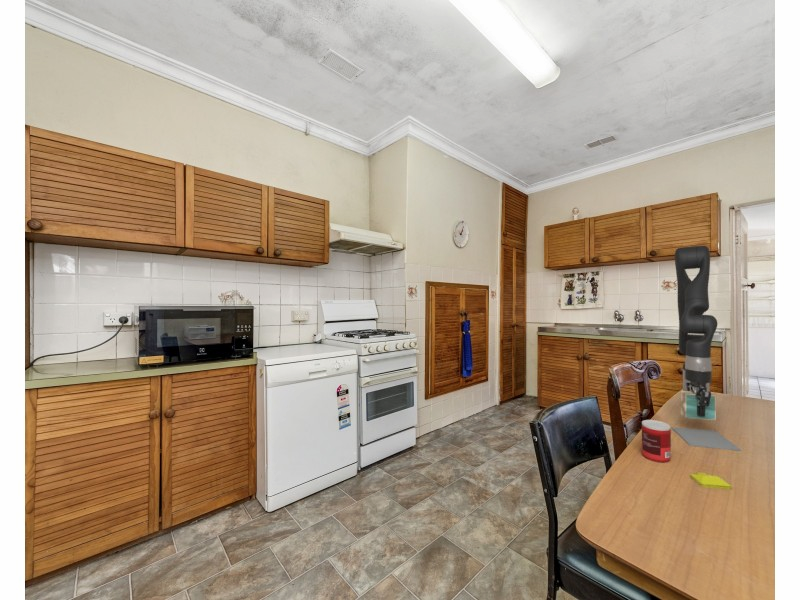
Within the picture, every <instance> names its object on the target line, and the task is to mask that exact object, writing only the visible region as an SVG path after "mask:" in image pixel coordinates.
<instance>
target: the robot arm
mask: <svg viewBox="0 0 800 600" xmlns="http://www.w3.org/2000/svg"><path fill="white" fill-rule="evenodd" d="M674 263H675V273H676V284H677V286H676V287H677V314H678V350H679V352H680V354H682V355H685V359H684V360H685V361H684V363H682V391H690V392H693V393H694V394H695V399H696V400H697V415H698V416H703V417H704V416H705V407H706V406H709V403H710V398H711V394H712V391H710V389H711V388H710V386H711V385H710V383H712V382H713V381H712V374H713V373H712V372H713V370H712V368H713V367H712V365H713V363H712V358H711V357H712V356H711V354H712V353H711V351H712V348H711V347H712V342H713V338H714V337H715V334H716V333H715V332H716V330H717V328H718V320H717V319H716V317H715V316H714V315H712V314H705V313H706V312H707V311H708V310H709V309H710V302H709V301H710V299H709V283H710V282H709V281H710V272H711V253H710V249H709V247H708V246H707V245H693V246H692V245H691V246H684V247H683V246H682V247H678V248H676V249H675V251H674ZM693 269H694V270H695V269H696V270H697V269H699V270H698V272H697V274H696V276H695V277H694V278H693V279H692V280H691V277H689V275H688V273H687V271H686V270H693ZM697 395H698V396H700V397H698V396H697ZM699 400H700V401H699Z"/></svg>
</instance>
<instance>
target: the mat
mask: <svg viewBox="0 0 800 600" xmlns="http://www.w3.org/2000/svg"><path fill="white" fill-rule="evenodd" d="M670 428H671V430H672V431H674V432H675V433H676V434H677V435H678V436H679V437H680V438H681V439H682V440H683V441H685V442H686V443H687V445H689V446H690V447H700V448H701V447H702V448H709V449H719V450H720V449H721V450H729V451H742V449H741V448H740V447H738V445H735V443H733V442H731V440H729V439H728V438H726V437H725V436H724V435H722V434H721V433H719V432H718V431H716V430H712V429H711V430H709V429H700V428H699V429H698V428H689V427H688V428H687V427H677V426H670Z"/></svg>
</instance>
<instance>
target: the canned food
mask: <svg viewBox="0 0 800 600" xmlns="http://www.w3.org/2000/svg"><path fill="white" fill-rule="evenodd" d="M671 430H672V428H671V425H670V424H669V423H666V422H664V421H660V420H654V419H645V420H642V421H641V455H642V456H643V457H644V458H645V459H646V460H649V461H652V462H656V463H660V464H662V463H665V462H666V463H669V462H670V461H671V456H672V455H671V454H672V453H671V449H672V444H671V443H672V440H671V439H672V438H671V437H672V432H671Z"/></svg>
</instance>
